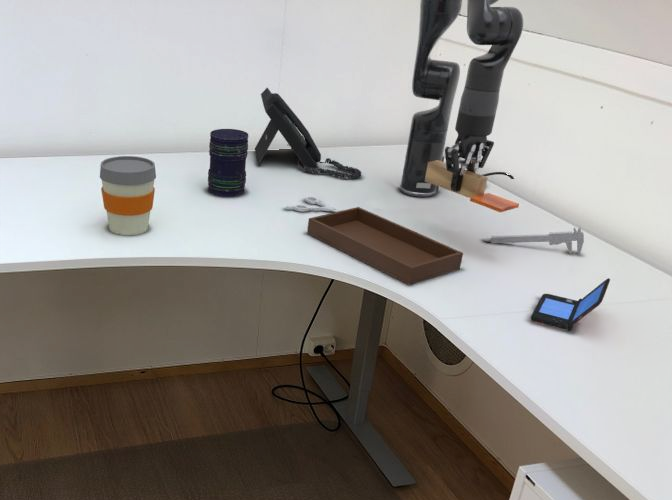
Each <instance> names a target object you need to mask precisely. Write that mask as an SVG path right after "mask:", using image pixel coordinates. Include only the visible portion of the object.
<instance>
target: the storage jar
mask: <svg viewBox="0 0 672 500" xmlns="http://www.w3.org/2000/svg"><path fill="white" fill-rule="evenodd" d="M209 137H210V138H209V142H208V143H209V145H208V147H209V150H208V156H209V169H208V171H207V185H208V187H207V193H209V194H210V195H212V196H215V197H219V198H238V197H241V196H243V195H244V194H245V193H246V192H245V187H246V184H247V183H246V182H247V171H246V166H247V165H246V163H247V157H248V154H249V153H248V150H249V140H248V139H249V133H248V132H247V131H244V130H241V129H235V128H218V129H214V130H212V131H210V133H209Z"/></svg>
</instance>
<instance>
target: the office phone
mask: <svg viewBox="0 0 672 500" xmlns="http://www.w3.org/2000/svg"><path fill="white" fill-rule="evenodd" d="M260 97H261V102H262V105H263V109H264V111H265V113H266V115H267V116H268V118H269V119H270V120H269V122H268V123H267V125H266V127H265V129H264V131H263V133H262V134H261V136H260V138H259V140H258V142H257V143H256V144H255V145H256V146H255V147H254V153H255V156H256V162H257V166H258V167H259V165H260V164H261V162H262V160H263V159H264V157H265V155H266V153H267V151H268V150H269V148H270V146H271V145H272V142H273V141H274V139H275V137H276V136H277V134H278V132H279V133H280V134H281V136H282V137H283V139H284V140H285V141H286V142H287V144H288V146H289V147H290V148H291V150H292V151H293V152H294V154H295V155H296V157H297V158H298V160H297V166H298V167H297V168H298V169H301V170H303V171H304V172H307V173H309V174H321V175H324V174H325V175H328V176H335V178H337V177H340V178H342V179H349V180H352V179H357V178H358V179H359V178H360V177H362V170H360V169H358V168H357V167H354V166H348V165H344V164H342V163H340V162H339V161H337V160H335V159H331V158H330V157H328V158H326V159H325V161H324V162H323V161H322V154H321V152H320V150H319V148H318V146H317V145H316V143H315V141H314V139H313V137H312V136H311V134H310V132H309V131H308V129H307V128H306V126H305V125H304V123H303V122H302V121H301V119H300V118H299V117H298V115H296V113H295V112H294V111H293V110H292V108H291V107H290V105H288V104H287V102H286V101H285V100H284V99H283V98H282V96H281V95H280V94H279V93H277V92H275V93H273V92H271V90H270V88H268V87H266V88H265V89H264V90H263V91H262V92H261V94H260ZM300 162H301V163H302V165H303V167H302V166H301V164H300ZM318 163H319V164H328V165H332V166H333V167H335V168H337V169H338V170H341V171H338V170H334V169H329V168H319V166H318Z"/></svg>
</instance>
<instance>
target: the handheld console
mask: <svg viewBox="0 0 672 500" xmlns="http://www.w3.org/2000/svg"><path fill="white" fill-rule="evenodd" d="M610 282H611V278H610V277H609V278H606V279H605V280H603V281H602V282H601V283H600V284H598V286H596V287H594V289H592V290H591V291H590V292H589V293H588V294H586V295H585V296H584V297H582V298H579V299H578V300H575V299H571V298H568V297H564V296H559V295H556V294H555V295H554V294H550V293H543V294H542V295H541V297H540V299H539V300H538V302H537V304H536V306H535V307H534V309H533V311H532V313H531V316H530V320H531V321H532V322H534V323H537V324H540V325H541V324H542V325H545V326H549V327H553V328H556V329H561V330H565V331H567V332H572V331H573V327H574V325H576V324H577V323H578V322H579V321H581V320H582V319H583V318H584V317H586V316H587V315H588V314H590V313H591V312H592V311H594V310H595V309H596V308H598V307H599V306H600V305H601V304H602V302H603V301H604V297H605V295H606V292H607V290H608V287H609V285H610Z"/></svg>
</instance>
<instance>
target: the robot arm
mask: <svg viewBox="0 0 672 500" xmlns="http://www.w3.org/2000/svg"><path fill="white" fill-rule="evenodd" d="M466 1H467V6H466V7H467V8H466V9H467V14H466V15H467V16H466V17H467V18H466V19H467V20H466V34H467V36H468V38H469V40H470V41H471V42H472V43H473V44H474V45H477V46H490V48H489V49H488V51H487V52H486V53H484V54H482V55H478V56H476V57H473V58H472V59H471V60H470V62H469V64H468V68H467V74H466V79H465V83H464V88H463V90H462V95H461V97H460V101H459V106H458V110H457V111H458V112H457V117H456V122H455V127H454V130H455V131H456V133H457V137H456V139H455V142H454V144H453V145H452V146H451V147H450V146H445V145H446V140H447V137H448V136H447V135H448V131H449V130H448V129H449V125H450V120H451V116H452V111H453V106H454V102H455V98H456V93H457V90H458V86H459V81H460V76H461V68H460V64H459V63H458V62H454V61H449V60H439V59H432V58H431V54H432V52H433V50H434V48H435V46H436V45H437V43H438V42H439V40H440V39H441V38H442V37H443V35H445V33H446V32H447V31H448V30H449V29H450V28H451V26H452V25H453V24H454V23H455V21H456V20H457V18H458V17H459V15H460V13H461V10H462V6H463V0H420V4H419V22H418V35H417V36H418V38H417V46H416V53H415V59H414V66H413V72H412V80H411V92H412V95H413V96H414V97H416V98H418V99H419V98H420V99H427V100H433V101H438V104H437V106H434V107H432V108H430V109H425V110H421V111H417V112H415V113H414V114H413V115H412V118H411V123H410V129H409V134H408V141H407V147H406V152H405V158H404V164H403V169H402V175H401V181H400V185H399V191H400V192H401V193H403V194H405V195H407V196H411V197H417V198H428V197H429V198H430V197H433V196H436V193H438V192H439V188H440V187H439V186H436V185H433V184H431V183H428V182H425V176H426V171H427V165H428V162H431V161H435V160H439V161H442V162H445V163H446V168H447V171H449V172H452V173H453V176H452V181H451V190H453V191H456V192H458V191H460V190H461V185H462V180H463V174H464V171H465V170H468V171H471V172H474V173H477V172H478V170H479V169H483V168H484V166H485V164H486V163H487V161H488V158H489V156H490V154H491V151H492V149H493V147H494V146H495V142H494V141H492V140H489V139H488V136H490V135H491V134H492V133H493V129H494V123H495V119H496V115H497V110H498V106H499V100H500V91H501V86H502V82H503V77H504V72H505V69H506V67H507V64H508V63H509V61H510V59H511V57H512V55H513V53H514V51H515V49H516V47H517V44H519V43H518V42H519V41H520V38H521V36H522V33H523V28H524V17H523V14H522V12H521V11H520V9H519V8H517V7H514V6H493V5H494V4H496V3H497V2H499V0H466ZM452 165H453V166H452ZM459 168H460V169H459ZM506 173H507V172H505V171H493V172H489V173H484V174H481V175H482V176H485V177H490V176H496V175H504V176H507V177H508V178H510V180H515V178H514V176H513V175H512V174H510V175H507V174H506Z"/></svg>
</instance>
